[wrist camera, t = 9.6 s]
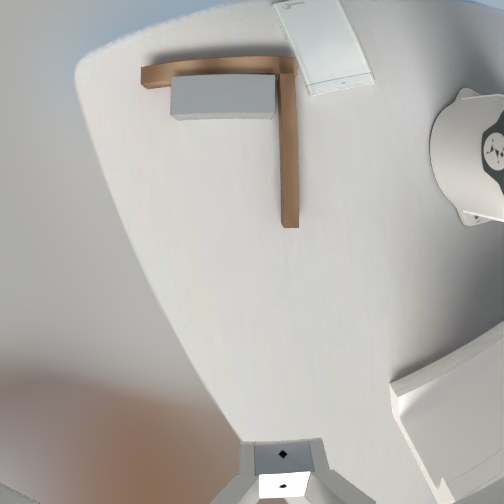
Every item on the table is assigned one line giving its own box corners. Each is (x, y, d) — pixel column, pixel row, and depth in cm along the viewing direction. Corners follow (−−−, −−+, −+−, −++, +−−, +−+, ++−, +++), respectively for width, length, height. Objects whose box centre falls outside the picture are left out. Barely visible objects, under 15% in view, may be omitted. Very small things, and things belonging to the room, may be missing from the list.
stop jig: (292, 64, 29) (295, 56, 27) (297, 223, 34) (301, 227, 32) (147, 73, 29) (141, 67, 27) (153, 229, 34) (147, 233, 31)
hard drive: (272, 3, 26) (311, 94, 29) (337, -7, 26) (377, 81, 29) (270, 9, 28) (308, 98, 31) (333, -1, 27) (372, 84, 30)
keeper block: (271, 85, 30) (275, 75, 26) (271, 119, 31) (274, 113, 27) (179, 86, 30) (171, 77, 26) (178, 120, 31) (170, 114, 27)
